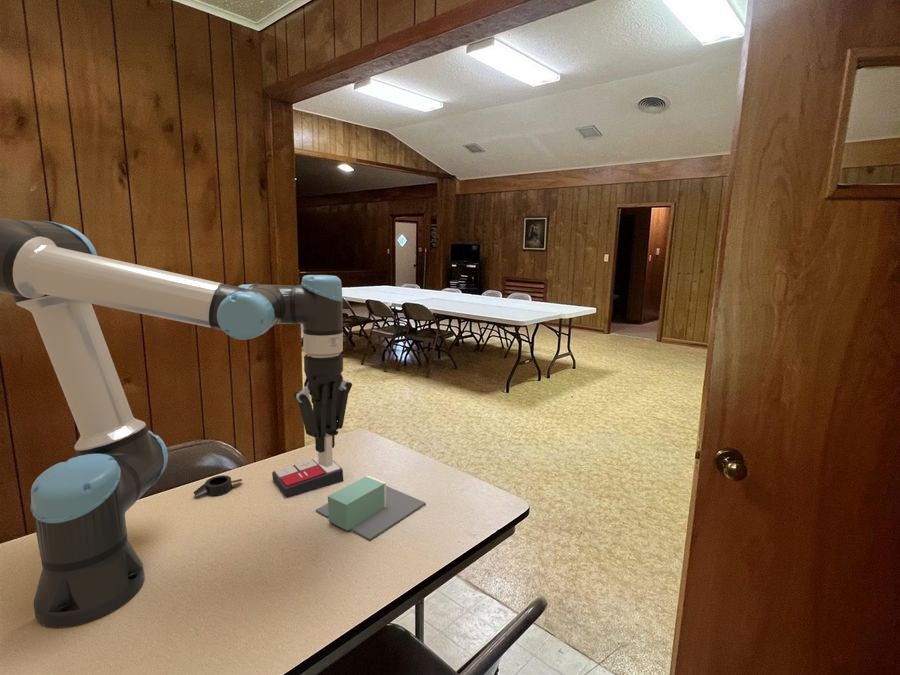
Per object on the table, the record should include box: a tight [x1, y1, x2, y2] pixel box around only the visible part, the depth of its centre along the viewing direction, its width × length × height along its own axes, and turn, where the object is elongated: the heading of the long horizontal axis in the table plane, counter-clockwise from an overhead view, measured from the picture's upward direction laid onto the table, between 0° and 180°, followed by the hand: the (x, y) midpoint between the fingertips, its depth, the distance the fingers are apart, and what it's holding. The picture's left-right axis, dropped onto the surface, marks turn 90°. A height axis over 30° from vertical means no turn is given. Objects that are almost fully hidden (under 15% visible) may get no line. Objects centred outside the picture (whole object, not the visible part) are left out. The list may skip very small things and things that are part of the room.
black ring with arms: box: [193, 475, 243, 498], centre depth 116 cm, size 8×10×3 cm
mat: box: [315, 485, 427, 542], centre depth 109 cm, size 18×18×1 cm
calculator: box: [271, 456, 344, 499], centre depth 121 cm, size 11×4×15 cm
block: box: [327, 474, 387, 531], centre depth 105 cm, size 6×6×12 cm
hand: (325, 464), depth 97 cm, fingers closed
